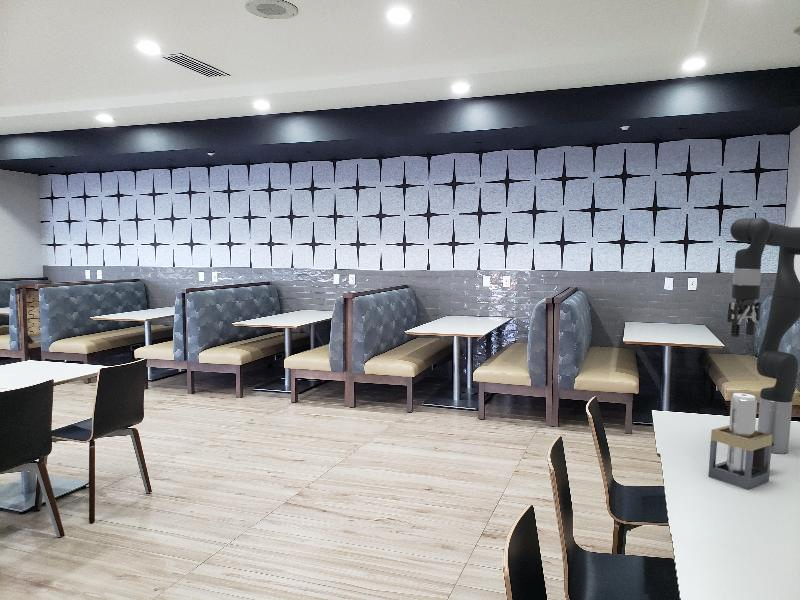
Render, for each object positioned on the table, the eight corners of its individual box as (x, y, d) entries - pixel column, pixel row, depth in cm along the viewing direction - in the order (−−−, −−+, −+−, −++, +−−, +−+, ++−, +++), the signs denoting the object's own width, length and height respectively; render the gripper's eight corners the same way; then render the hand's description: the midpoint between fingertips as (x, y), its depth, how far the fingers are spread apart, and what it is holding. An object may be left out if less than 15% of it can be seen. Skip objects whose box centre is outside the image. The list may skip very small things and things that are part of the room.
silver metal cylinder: (754, 484, 175) (761, 398, 172) (729, 482, 176) (736, 396, 174) (746, 476, 181) (752, 392, 179) (722, 473, 182) (728, 391, 180)
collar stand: (729, 469, 186) (732, 424, 185) (768, 481, 177) (772, 434, 175) (708, 476, 180) (711, 429, 179) (747, 489, 170) (751, 440, 169)
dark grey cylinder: (775, 470, 186) (777, 438, 185) (768, 477, 180) (771, 444, 179) (745, 463, 192) (747, 432, 191) (738, 470, 186) (740, 437, 185)
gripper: (746, 282, 196) (742, 332, 197) (721, 283, 188) (718, 335, 189) (770, 284, 189) (766, 336, 191) (746, 284, 182) (742, 338, 183)
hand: (742, 335), depth 190 cm, fingers open, 8 cm apart
